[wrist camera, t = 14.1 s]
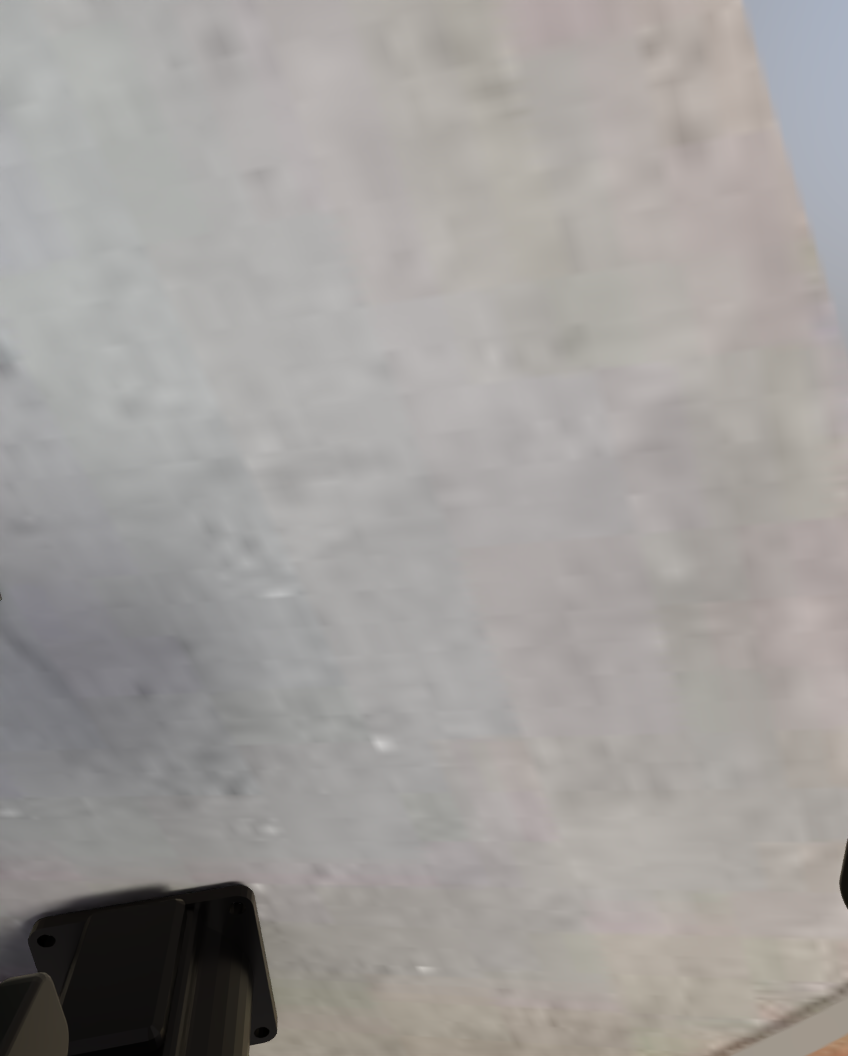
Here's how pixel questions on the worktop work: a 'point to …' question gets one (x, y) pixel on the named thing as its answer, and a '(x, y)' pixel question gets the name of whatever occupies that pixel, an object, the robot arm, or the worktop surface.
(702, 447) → the worktop surface
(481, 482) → the worktop surface
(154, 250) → the worktop surface
